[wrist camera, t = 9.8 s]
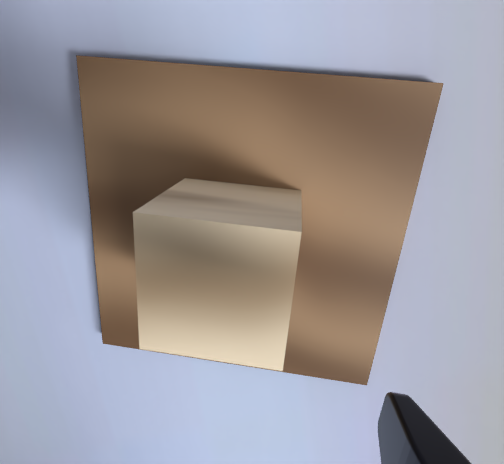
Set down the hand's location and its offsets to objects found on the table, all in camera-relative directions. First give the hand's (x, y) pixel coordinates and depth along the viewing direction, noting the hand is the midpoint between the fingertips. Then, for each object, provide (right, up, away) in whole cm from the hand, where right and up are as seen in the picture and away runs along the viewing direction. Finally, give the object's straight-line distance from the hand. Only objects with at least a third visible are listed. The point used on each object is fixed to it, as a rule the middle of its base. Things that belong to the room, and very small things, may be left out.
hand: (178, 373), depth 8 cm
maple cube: (+1, +3, +8) cm, 8 cm away
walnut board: (+1, +3, +8) cm, 9 cm away
